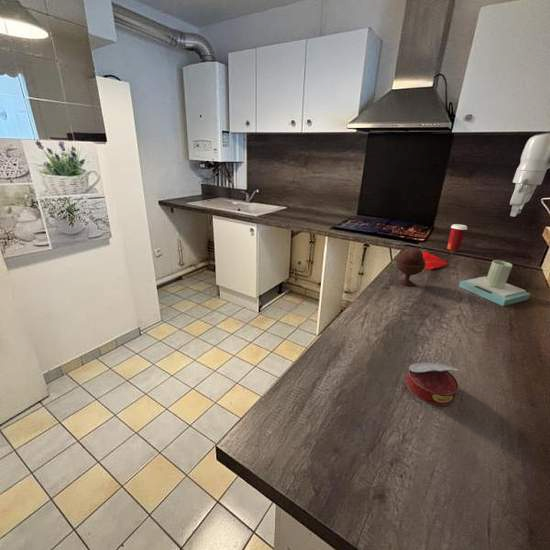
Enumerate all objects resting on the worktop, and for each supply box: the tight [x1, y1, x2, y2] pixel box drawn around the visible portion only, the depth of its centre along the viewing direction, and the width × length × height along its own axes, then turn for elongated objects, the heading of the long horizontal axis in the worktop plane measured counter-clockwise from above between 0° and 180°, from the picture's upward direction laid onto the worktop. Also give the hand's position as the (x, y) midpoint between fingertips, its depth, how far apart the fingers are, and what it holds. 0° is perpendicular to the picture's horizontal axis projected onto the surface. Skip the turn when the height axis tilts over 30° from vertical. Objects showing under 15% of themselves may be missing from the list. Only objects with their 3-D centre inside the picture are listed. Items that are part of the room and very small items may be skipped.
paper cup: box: [446, 223, 468, 251], centre depth 158 cm, size 8×8×14 cm
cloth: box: [422, 251, 448, 271], centre depth 142 cm, size 26×14×2 cm, turn 149°
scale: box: [458, 275, 531, 307], centre depth 112 cm, size 17×15×3 cm
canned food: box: [405, 361, 460, 406], centre depth 64 cm, size 11×10×10 cm
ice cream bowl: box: [395, 248, 426, 287], centre depth 115 cm, size 11×11×15 cm
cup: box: [485, 259, 513, 289], centre depth 109 cm, size 6×6×9 cm
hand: (515, 214), depth 117 cm, fingers open, 8 cm apart
